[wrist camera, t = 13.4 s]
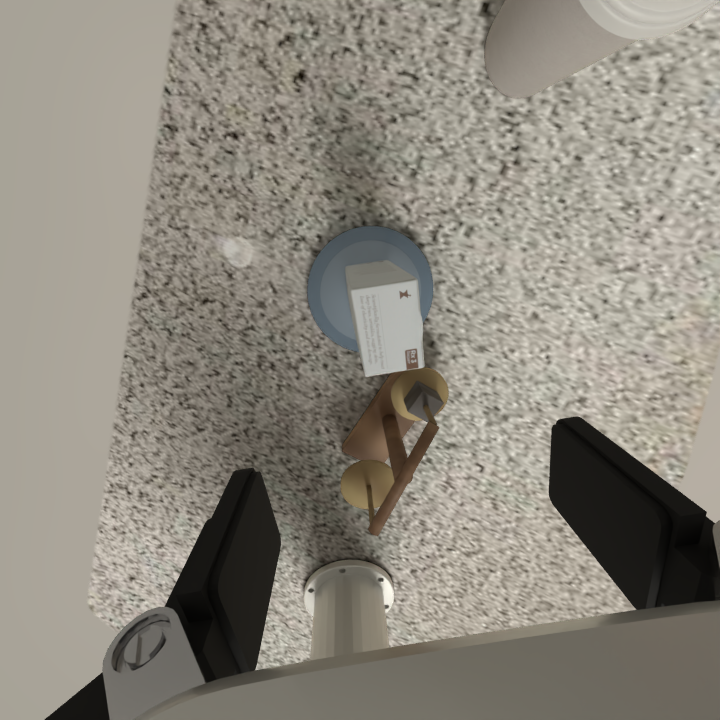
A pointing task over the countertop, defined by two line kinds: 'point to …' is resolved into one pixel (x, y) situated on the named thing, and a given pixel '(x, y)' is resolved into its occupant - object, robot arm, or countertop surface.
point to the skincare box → (385, 317)
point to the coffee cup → (573, 36)
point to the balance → (391, 441)
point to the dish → (355, 249)
